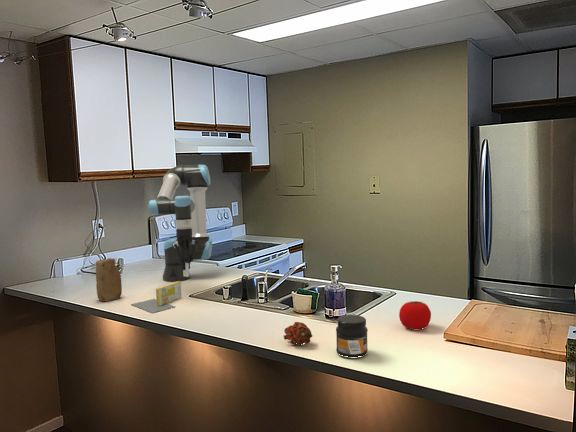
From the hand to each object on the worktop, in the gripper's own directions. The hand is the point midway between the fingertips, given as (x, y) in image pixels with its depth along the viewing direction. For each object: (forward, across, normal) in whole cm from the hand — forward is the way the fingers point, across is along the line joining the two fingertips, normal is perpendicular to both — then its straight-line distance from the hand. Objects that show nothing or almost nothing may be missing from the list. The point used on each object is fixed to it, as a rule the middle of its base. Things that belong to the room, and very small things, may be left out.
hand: (186, 276), depth 238 cm
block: (+11, -27, +27) cm, 40 cm away
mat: (+11, -18, 0) cm, 21 cm away
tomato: (+12, +35, -105) cm, 111 cm away
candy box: (+11, -10, 0) cm, 15 cm away
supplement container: (+12, -1, -103) cm, 103 cm away
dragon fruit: (+12, -7, -83) cm, 84 cm away
